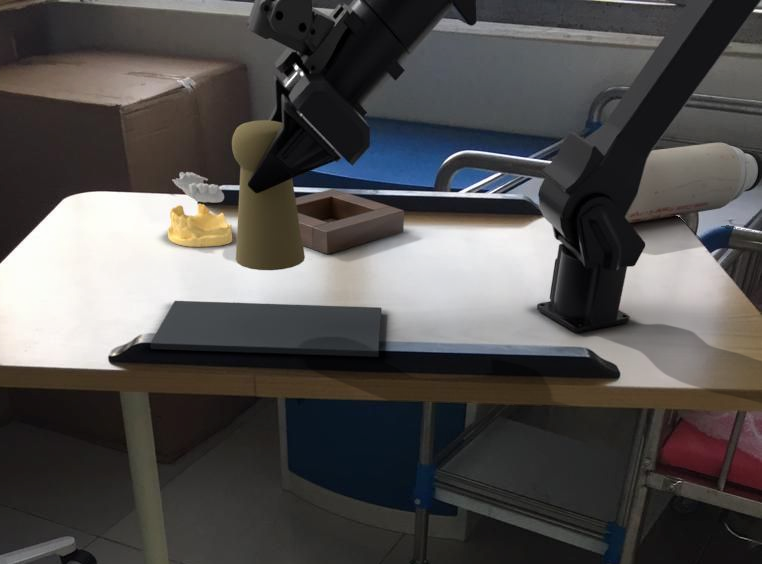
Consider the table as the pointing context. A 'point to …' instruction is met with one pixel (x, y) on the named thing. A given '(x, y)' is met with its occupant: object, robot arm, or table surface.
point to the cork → (264, 206)
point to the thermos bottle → (693, 180)
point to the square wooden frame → (344, 220)
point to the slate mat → (270, 328)
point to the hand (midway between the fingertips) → (249, 180)
